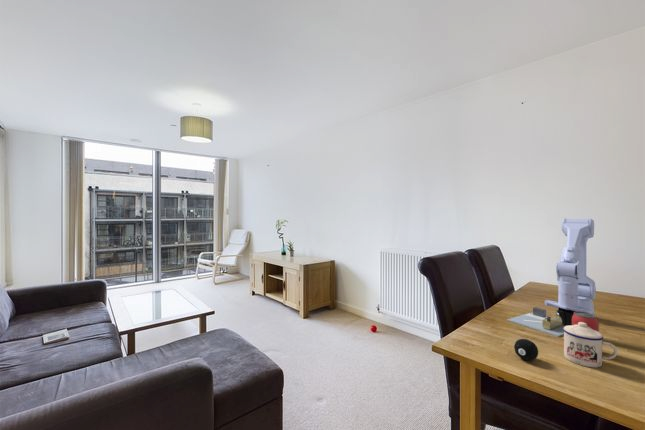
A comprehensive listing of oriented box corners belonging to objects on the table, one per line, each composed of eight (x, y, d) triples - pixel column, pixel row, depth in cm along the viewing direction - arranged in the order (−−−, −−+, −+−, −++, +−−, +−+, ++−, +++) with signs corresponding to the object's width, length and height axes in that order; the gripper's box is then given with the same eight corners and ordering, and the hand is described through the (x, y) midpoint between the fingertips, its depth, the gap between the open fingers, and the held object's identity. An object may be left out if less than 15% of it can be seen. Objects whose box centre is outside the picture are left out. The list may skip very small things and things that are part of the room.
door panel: (530, 313, 128) (530, 312, 128) (581, 327, 112) (581, 326, 112) (507, 320, 119) (507, 319, 119) (558, 336, 103) (558, 335, 103)
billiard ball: (541, 360, 87) (541, 341, 87) (533, 366, 83) (533, 346, 83) (519, 352, 92) (519, 334, 92) (510, 357, 88) (510, 338, 88)
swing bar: (554, 322, 115) (555, 312, 115) (562, 324, 113) (562, 314, 113) (542, 327, 110) (542, 316, 110) (549, 329, 108) (549, 318, 108)
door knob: (557, 321, 117) (557, 309, 117) (568, 324, 114) (568, 312, 114) (553, 323, 115) (553, 311, 116) (564, 326, 112) (564, 313, 112)
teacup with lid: (562, 360, 86) (562, 323, 86) (563, 350, 93) (563, 315, 93) (618, 376, 78) (618, 334, 78) (616, 363, 85) (616, 325, 85)
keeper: (535, 313, 126) (535, 307, 126) (546, 316, 123) (546, 309, 123) (532, 314, 125) (533, 307, 125) (543, 317, 122) (543, 310, 122)
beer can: (604, 356, 90) (604, 318, 90) (580, 353, 91) (580, 316, 91) (589, 346, 96) (589, 311, 96) (566, 344, 97) (567, 310, 97)
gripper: (540, 290, 112) (540, 324, 112) (588, 300, 99) (588, 338, 99) (549, 288, 115) (549, 321, 115) (596, 297, 102) (596, 334, 102)
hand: (567, 329), depth 107 cm, fingers closed
